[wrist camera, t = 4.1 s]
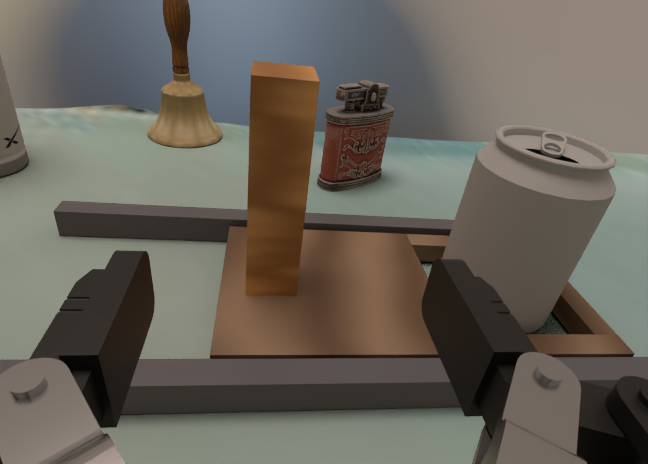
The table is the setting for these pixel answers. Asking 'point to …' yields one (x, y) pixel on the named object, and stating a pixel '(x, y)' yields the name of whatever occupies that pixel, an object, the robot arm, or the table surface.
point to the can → (531, 215)
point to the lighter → (355, 136)
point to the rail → (284, 374)
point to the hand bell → (182, 91)
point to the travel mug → (9, 132)
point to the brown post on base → (336, 260)
